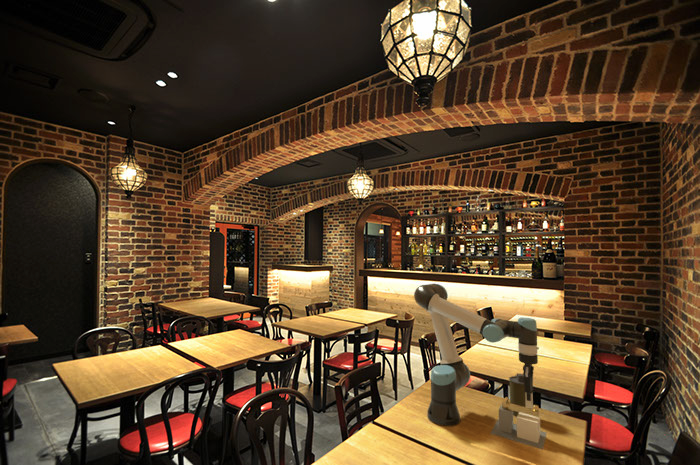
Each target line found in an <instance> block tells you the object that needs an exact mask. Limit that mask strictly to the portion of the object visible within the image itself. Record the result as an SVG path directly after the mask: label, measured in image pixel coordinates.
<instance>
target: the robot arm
mask: <svg viewBox="0 0 700 465" xmlns="http://www.w3.org/2000/svg"><path fill="white" fill-rule="evenodd" d="M413 294H414V295H413V298H414V301H415V303H416V304H417V305H418V306H419V307H421V308H423V309H425V311H426V312H427V313H429V315H430V319H431V322H432V326H433V330H434V333H435V337H436V342H437V345H438V349H439V351H440V356H441V360H440V362H439V363H440V365H439V364H438V365H436V366H434V367H432V369H431V371H430V401H429V406H428V408H427V419H428V420H429V421H431V422H432V423H434V424H436V425H439V426H445V427H450V426H456V425H458V424H459V423H460V422H461V415H460V412H459V409H458V405H457V391H458V390H460V389H462V388H464V387H465V386H466V385H467V384H468V383H469V382H470V380H471V371H470V369H469V367H468V365H467V364H465V362H464V360H463V357H461V356H460V355H459V352H458V350H457V346H456V342H455V339H454V335H453V331H452V328H451V325H450V321H449V320H452V321H454V323H458V324H459V325H461V326H463V327H465V328H466V329H469V330H471V331H474V332H475V333H477V334H480V335H481V336H483V338H484V339H485V340H486V341H487V342H489V343H498V342H500V341H501V340H503V339H505V338H514V339H518V361H519V362H520V363H522V364H523V366H522V370H523V372H522V374H523V375H524V388H525V390H524V391H523V392H525V402H526V407H527V408H531V409H533V405H534V399H533V393H535V390H534V370H535V367H534V366H533V365H537V364H538V363H539V362H538V361H539V357H538V350H539V346H538V327H537V320H535V318H532V317H519V318H518V319H517V320H516V321H515V320H508V319H507V320H506V319H501V318H493V319H491V320H489V319H488V318H485V317H483V316H481V315H479V314H477V313H474V312H472V311H470V310H468V309H466V308H464V307H462V306H459V305H457V304H455V303H453V302H451V301H449V300H448V291H447V289H446V288H445V286H443V285H442V284H439V283H430V284H429V283H428V284H422V285H419V286H418V287H416V289H415V290H414V293H413ZM501 342H502V341H501Z"/></svg>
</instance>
